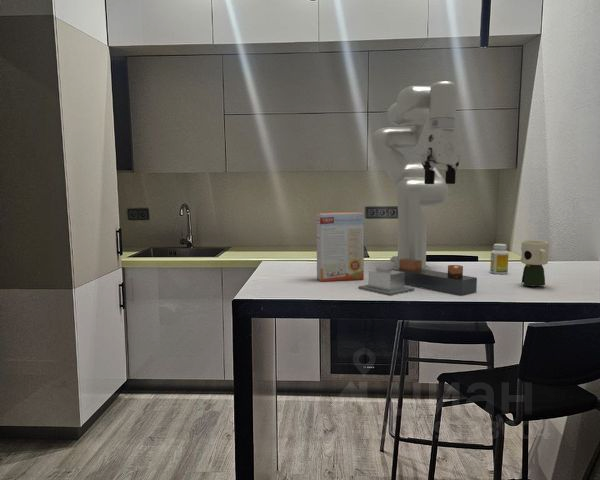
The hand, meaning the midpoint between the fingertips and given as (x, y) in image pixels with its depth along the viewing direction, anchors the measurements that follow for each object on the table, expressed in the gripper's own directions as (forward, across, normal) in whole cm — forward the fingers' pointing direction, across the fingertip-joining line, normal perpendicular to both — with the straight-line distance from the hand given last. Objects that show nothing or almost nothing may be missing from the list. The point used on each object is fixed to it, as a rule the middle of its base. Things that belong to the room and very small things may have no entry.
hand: (440, 183), depth 149 cm
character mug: (+30, +15, -22) cm, 40 cm away
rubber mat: (+29, -22, 0) cm, 37 cm away
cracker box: (+30, -22, +20) cm, 42 cm away
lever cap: (+29, -22, 0) cm, 36 cm away
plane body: (+29, -9, -5) cm, 31 cm away
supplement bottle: (+30, +27, -4) cm, 41 cm away
